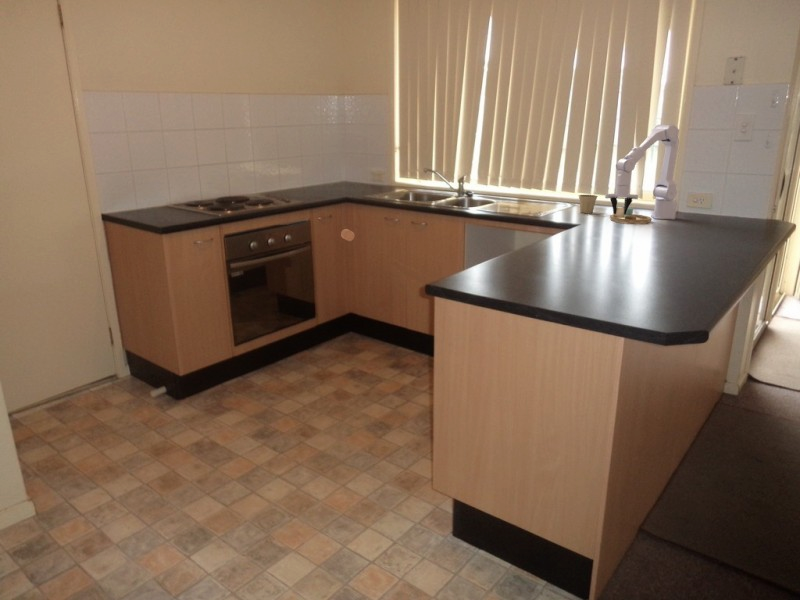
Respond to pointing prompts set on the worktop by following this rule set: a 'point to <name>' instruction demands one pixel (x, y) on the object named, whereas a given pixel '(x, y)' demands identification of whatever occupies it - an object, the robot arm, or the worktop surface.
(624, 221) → the ring tray
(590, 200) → the flower pot
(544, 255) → the worktop surface
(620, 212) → the bead cream
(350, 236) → the pink rounded lump
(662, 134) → the robot arm
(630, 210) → the bead teal
